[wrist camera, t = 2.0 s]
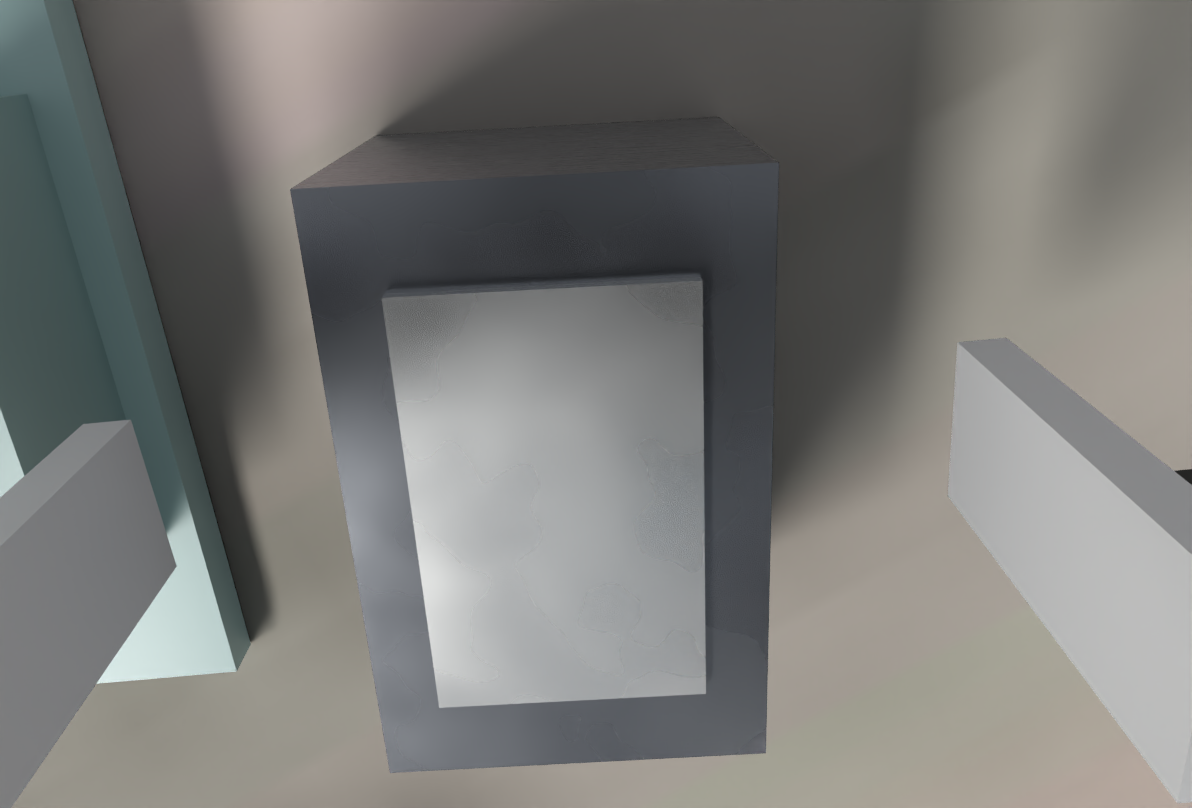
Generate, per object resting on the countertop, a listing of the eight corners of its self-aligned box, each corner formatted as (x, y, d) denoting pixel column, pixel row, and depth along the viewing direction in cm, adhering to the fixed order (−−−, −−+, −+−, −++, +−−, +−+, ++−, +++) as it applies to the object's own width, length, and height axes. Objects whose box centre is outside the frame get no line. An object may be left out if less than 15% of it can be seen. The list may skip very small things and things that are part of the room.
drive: (718, 566, 22) (767, 761, 16) (437, 581, 22) (387, 781, 16) (717, 116, 18) (781, 164, 12) (377, 134, 18) (286, 191, 13)
